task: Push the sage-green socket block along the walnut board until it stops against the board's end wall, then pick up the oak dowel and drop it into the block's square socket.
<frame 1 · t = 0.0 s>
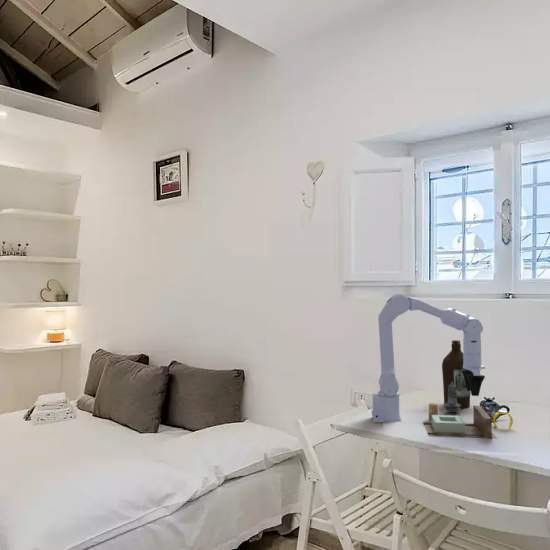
hand: (472, 393, 176), 10 cm above the table, fingers open, 7 cm apart
oak dowel: (433, 421, 178), on the table
olive oil: (456, 405, 200), on the table
walnut board: (457, 431, 167), on the table
watch: (502, 429, 169), on the table
salt shaker: (452, 415, 187), on the table
sage socket block: (447, 424, 167), point 2 cm above the table, slide at 0.0 cm
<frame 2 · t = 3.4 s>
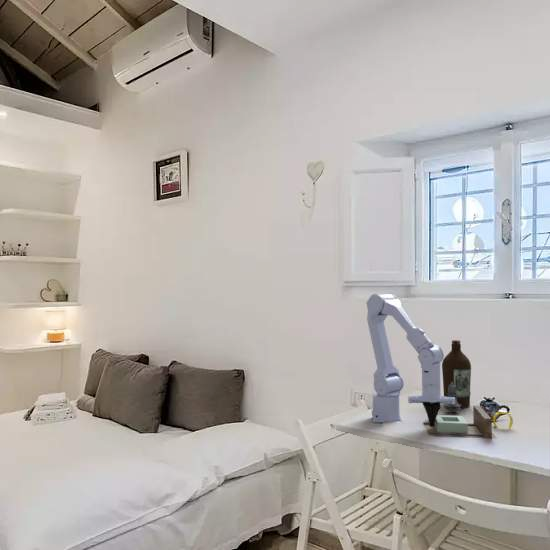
hand: (431, 425, 168), 2 cm above the table, fingers closed
sage socket block: (450, 424, 167), point 2 cm above the table, slide at 0.8 cm, touching gripper
everything else where it was.
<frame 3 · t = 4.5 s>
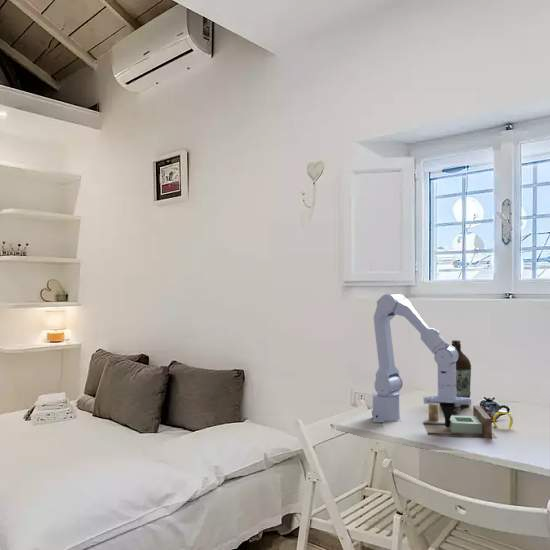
hand: (447, 426, 167), 2 cm above the table, fingers closed
sage socket block: (464, 424, 166), point 2 cm above the table, slide at 5.0 cm, touching gripper, walnut board
everything else where it was.
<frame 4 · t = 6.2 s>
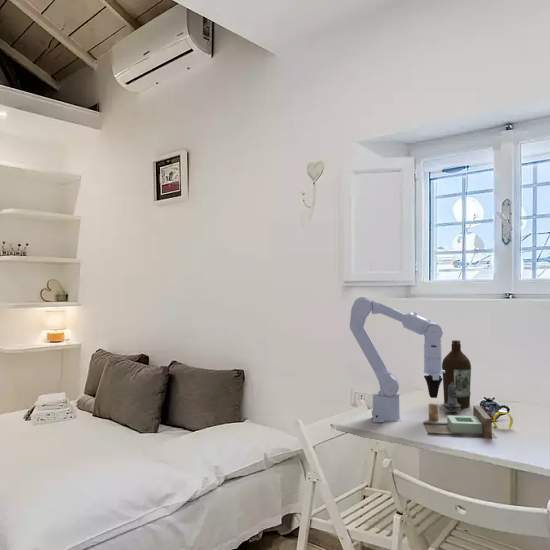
hand: (433, 397, 178), 8 cm above the table, fingers closed
sage socket block: (464, 424, 166), point 2 cm above the table, slide at 5.0 cm, touching walnut board
everything else where it was.
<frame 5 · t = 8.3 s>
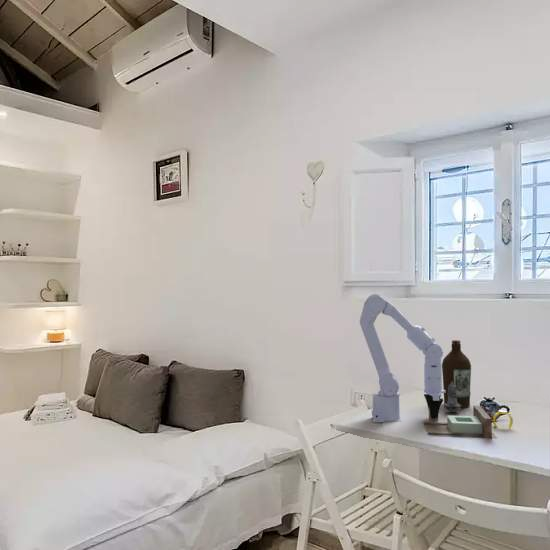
hand: (433, 416, 178), 2 cm above the table, fingers closed on oak dowel, 3 cm apart
oak dowel: (433, 421, 178), on the table, touching gripper
everything else where it was.
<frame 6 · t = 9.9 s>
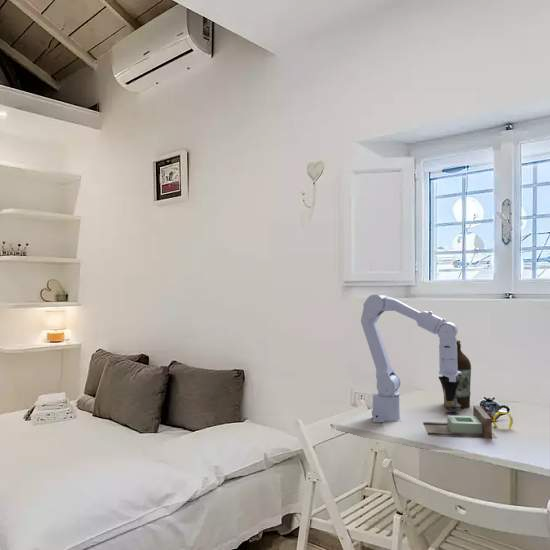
hand: (449, 399, 172), 9 cm above the table, fingers closed on oak dowel, 3 cm apart
oak dowel: (449, 404, 172), point 7 cm above the table, touching gripper
everything else where it was.
when the fingers open (4 cm above the table, at t = 11.5 s): oak dowel drops 1 cm, resting on sage socket block.
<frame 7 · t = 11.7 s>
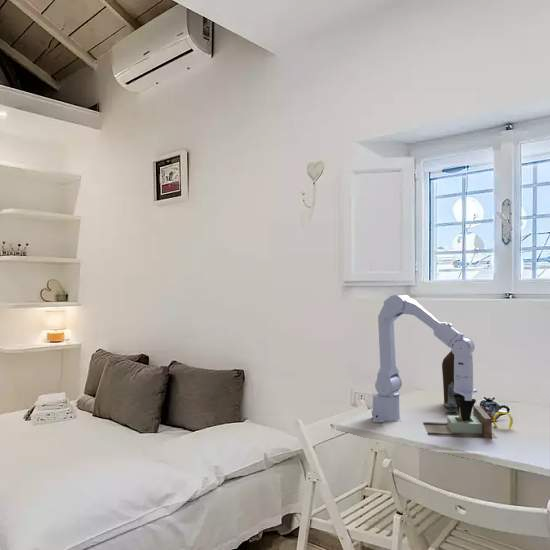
hand: (464, 418, 166), 4 cm above the table, fingers open, 5 cm apart
oak dowel: (464, 427, 166), point 1 cm above the table, touching sage socket block
sage socket block: (464, 424, 166), point 2 cm above the table, slide at 5.0 cm, touching oak dowel
everything else where it was.
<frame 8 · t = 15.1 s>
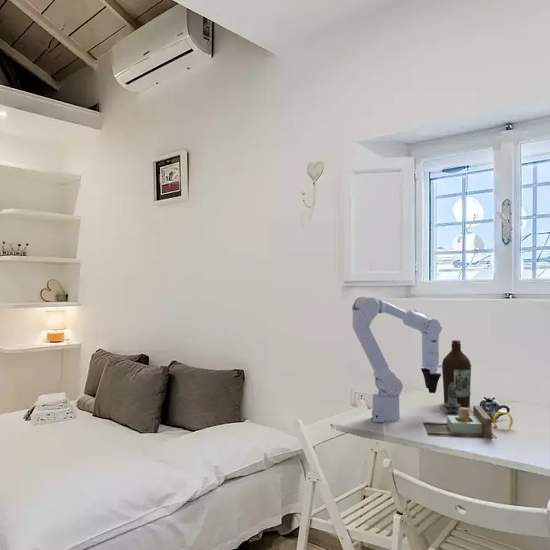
hand: (430, 390, 184), 9 cm above the table, fingers open, 7 cm apart
nothing on the table moved.
at the end: sage socket block slide at 5.0 cm; oak dowel 0.2 cm from the target spot, point 1.4 cm above the table; oak dowel tilted 0° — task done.
